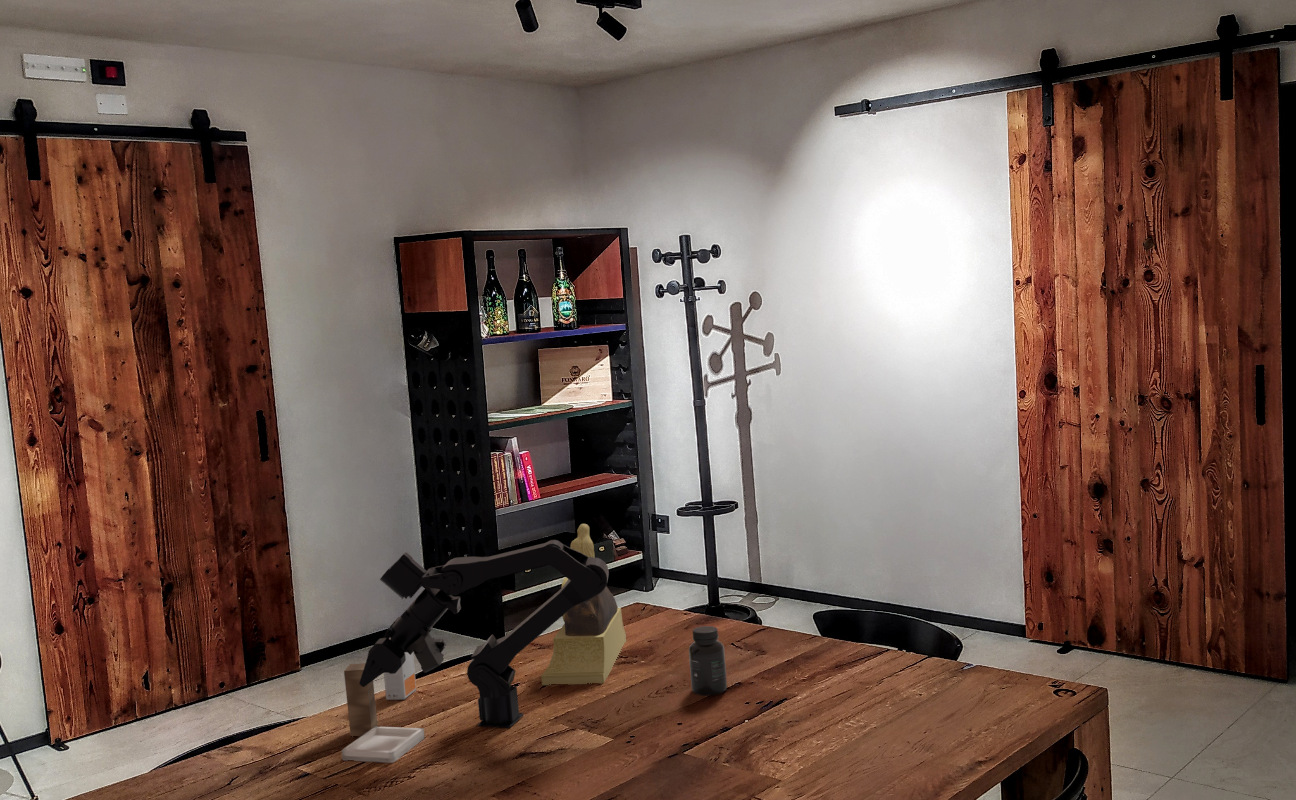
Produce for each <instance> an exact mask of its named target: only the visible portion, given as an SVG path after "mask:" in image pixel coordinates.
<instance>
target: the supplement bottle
mask: <svg viewBox="0 0 1296 800" xmlns="http://www.w3.org/2000/svg"><path fill="white" fill-rule="evenodd" d="M718 639H719V634H718V627H716V626H714V625H713V626H711V625H705V626H703V625H702V626H697V627H694V628H693V630H692V640H693V642H692V643H691V644H690V645H689V647H688V657H689V658H688V659H689V669H690V670H689V671H690V682H691V683H690V684H691V690H692V692H693V693H694V694H696V695H699V696H706V697H707V696H709V697H710V696H716V695H717V696H718V695H720V694H723V693H725V691H726V690H727V688H728V684H727V683H728V682H727V681H728V680H727V668H726V667H727V666H726V656H725V655H726V654H725V646H724V644H723V643H722V642H721V641H720V640H718Z"/></svg>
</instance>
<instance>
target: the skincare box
mask: <svg viewBox="0 0 1296 800" xmlns="http://www.w3.org/2000/svg"><path fill="white" fill-rule="evenodd" d="M405 658H406V661H405V662H404V664H403V665H402V666H401V667H400V669H399V670H398V671H397V672H396V673H395V674H390V673H383V679H384V680H383V682H384V691H385V700H388V701H390V700H391V701H392V700H395V701H397V700H398V701H401V700H403V701H404V700H406V699H407V698H408V697H409V696H411V694H413V693H414V692H416V691H417V685H416V684H417V682H416V669H415V659H414V658H415V657H414V652H413V653H412V654H411V655H410V654H409V653H407V652H405Z"/></svg>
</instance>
